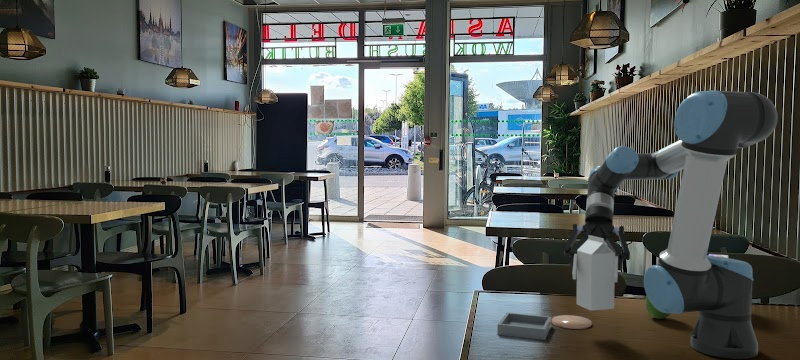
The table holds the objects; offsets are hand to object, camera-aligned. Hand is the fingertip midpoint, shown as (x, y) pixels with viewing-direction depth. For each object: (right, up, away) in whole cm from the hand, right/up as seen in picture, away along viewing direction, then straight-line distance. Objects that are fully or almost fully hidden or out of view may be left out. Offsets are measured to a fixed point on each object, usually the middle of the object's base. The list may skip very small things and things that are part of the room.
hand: (594, 278), depth 167 cm
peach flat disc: (-2, -15, +15) cm, 21 cm away
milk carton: (+1, -8, +3) cm, 9 cm away
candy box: (+47, -15, +29) cm, 57 cm away
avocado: (+25, -15, +20) cm, 36 cm away
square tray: (-17, -16, +8) cm, 24 cm away
